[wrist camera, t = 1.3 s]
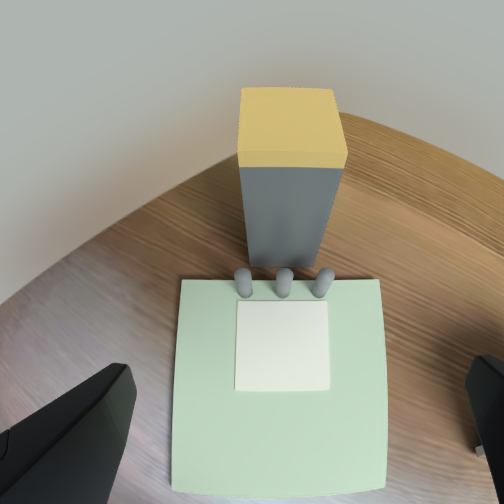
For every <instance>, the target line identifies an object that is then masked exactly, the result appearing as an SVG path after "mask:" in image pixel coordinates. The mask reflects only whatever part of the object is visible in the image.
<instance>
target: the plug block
mask: <svg viewBox="0 0 504 504" xmlns="http://www.w3.org/2000/svg"><path fill="white" fill-rule="evenodd" d="M237 153H238V162H239V171H240V180H241V189H242V198H243V207H244V216H245V225H246V234H247V243H248V252H249V261H250V267H313V265H314V262H315V259H316V256H317V253H318V250H319V247H320V244H321V241H322V238H323V234H324V231H325V228H326V225H327V222H328V219H329V216H330V212H331V209H332V206H333V203H334V199H335V196H336V193H337V189H338V186H339V183H340V179H341V176H342V172H343V169H344V165H345V162H346V158H347V155H348V151H347V147H346V142H345V138H344V134H343V129H342V125H341V121H340V117H339V113H338V109H337V105H336V102H335V98H334V94H333V90H331V89H315V88H289V87H286V88H285V87H251V88H250V87H249V88H242V93H241V106H240V120H239V134H238V148H237Z"/></svg>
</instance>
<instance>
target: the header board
mask: <svg viewBox="0 0 504 504" xmlns="http://www.w3.org/2000/svg"><path fill="white" fill-rule="evenodd" d="M334 276H335V275H334V272H333V271H332V270H331V269H330V268H322V269H321V270H320V271H319V273H318V275H317V278H316V280H293V272H292V271H291V270H290V269H288V268H281V269H280V270H278V272H277V275H276V280H252V278H251V272H250V271H249V270H248V269H247V268H239V269H237V270H236V272H235V274H234V278H235V280H182V286H181V296H180V307H179V318H178V331H177V344H176V359H175V375H174V395H173V421H172V491H176V492H183V493H191V494H199V495H209V496H221V497H237V498H301V497H317V496H329V495H338V494H347V493H355V492H362V491H368V490H374V489H380V488H385V482H386V466H387V437H388V397H387V367H386V349H385V335H384V323H383V312H382V302H381V293H380V284H379V279H376V280H334Z"/></svg>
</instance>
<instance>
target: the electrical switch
mask: <svg viewBox="0 0 504 504" xmlns="http://www.w3.org/2000/svg"><path fill="white" fill-rule="evenodd" d="M475 449H476V455H477V457H480V456H485V452H484V449H483V446H482V445H480V446H478V447H476V448H475Z"/></svg>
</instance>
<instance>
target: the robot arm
mask: <svg viewBox="0 0 504 504" xmlns="http://www.w3.org/2000/svg"><path fill="white" fill-rule="evenodd" d="M465 388H466V392H467V395H468V399H469V402H470V406H471V409H472V413H473V417H474V421H475V425H476V428H477V432H478V435H479V438H480V441H481V443H482V446H483V449H484V452H485V456H486V459H487V462H488V465H489V468H490V472H491V475H492V479H493V482H494V486H495V489H496V493H497V497H498V501H499V504H504V361H502V360H500V359H498V358H496V357H494V356H492V355H490V354H487V353H486V354H481V355H477V356H476V357H475V358H474V359H473V361H472V364H471V366H470V368H469V371H468V373H467V375H466V378H465ZM136 396H137V390H136V385H135V382H134V379H133V376H132V372H131V369H130V367H129V366H128V365H127V364H121V363H112V364H110V365H109V366H107V367H105V368H104V369H102V370H101V371H99V372H98V373H96V374H95V375H93V376H91V377H90V378H88V379H87V380H85V381H84V382H82V383H80V384H79V385H77V386H76V387H74V388H73V389H71V390H70V391H68V392H66V393H65V394H63V395H62V396H60V397H58V398H57V399H55V400H54V401H52V402H51V403H49V404H47V405H46V406H44V407H43V408H41V409H39V410H38V411H36V412H35V413H33V414H31V415H30V416H28V417H27V418H25V419H23V420H22V421H20V422H19V423H17V424H15V425H14V426H12V427H11V428H10V430H9V429H7V430H6V431H4V432H2V433H1V434H0V504H107V502H108V498H109V495H110V492H111V489H112V486H113V483H114V480H115V476H116V473H117V470H118V467H119V464H120V461H121V458H122V455H123V452H124V449H125V446H126V442H127V437H128V433H129V428H130V423H131V419H132V414H133V410H134V405H135V401H136Z"/></svg>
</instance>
